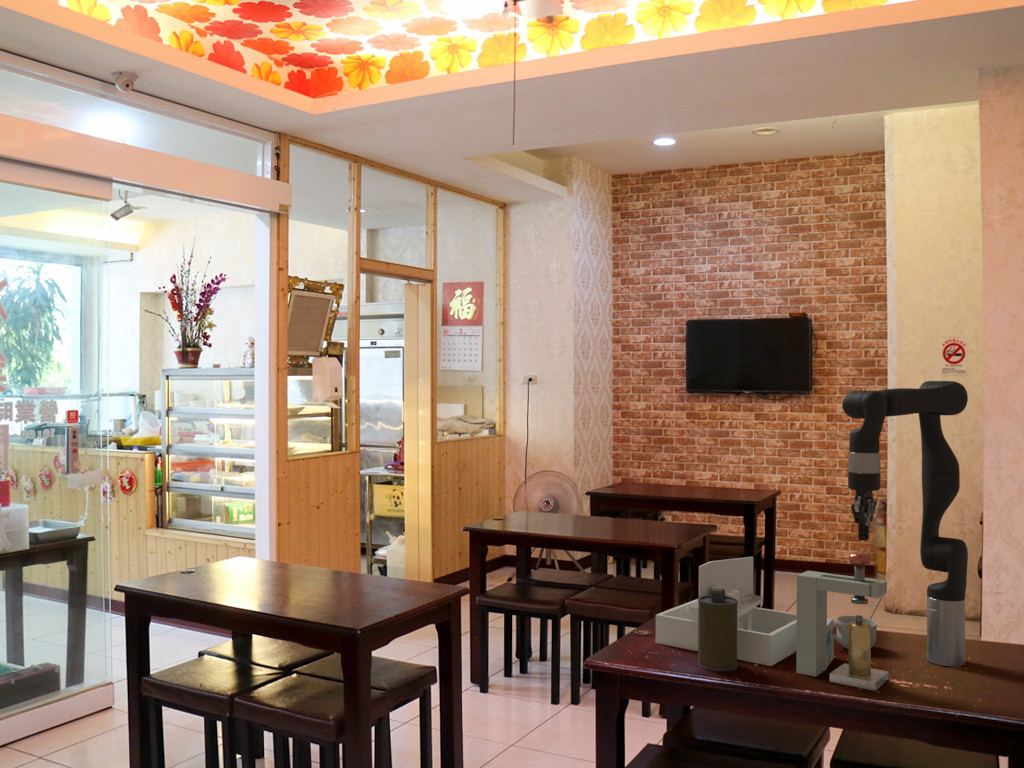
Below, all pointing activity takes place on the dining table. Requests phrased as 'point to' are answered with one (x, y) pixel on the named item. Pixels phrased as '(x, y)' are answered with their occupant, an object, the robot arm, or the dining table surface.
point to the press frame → (822, 614)
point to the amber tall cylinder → (859, 647)
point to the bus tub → (760, 645)
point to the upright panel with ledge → (730, 586)
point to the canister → (717, 631)
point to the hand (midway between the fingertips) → (863, 540)
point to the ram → (859, 573)
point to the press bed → (859, 678)
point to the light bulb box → (830, 640)
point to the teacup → (843, 629)
